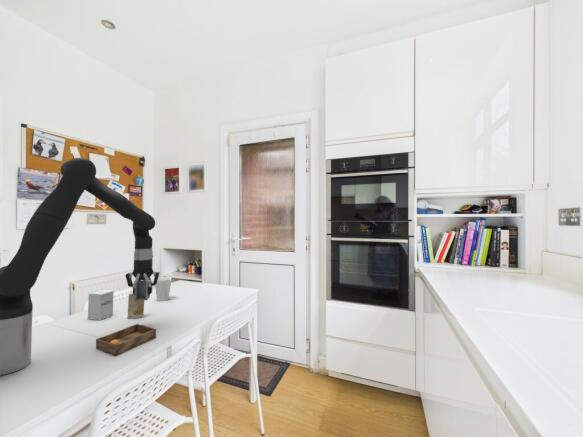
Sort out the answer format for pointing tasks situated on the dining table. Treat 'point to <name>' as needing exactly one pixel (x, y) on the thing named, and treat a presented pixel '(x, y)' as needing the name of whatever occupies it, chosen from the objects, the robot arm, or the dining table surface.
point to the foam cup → (163, 288)
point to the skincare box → (135, 307)
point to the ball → (115, 342)
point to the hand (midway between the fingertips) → (142, 294)
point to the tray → (125, 339)
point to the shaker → (141, 291)
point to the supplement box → (100, 304)
